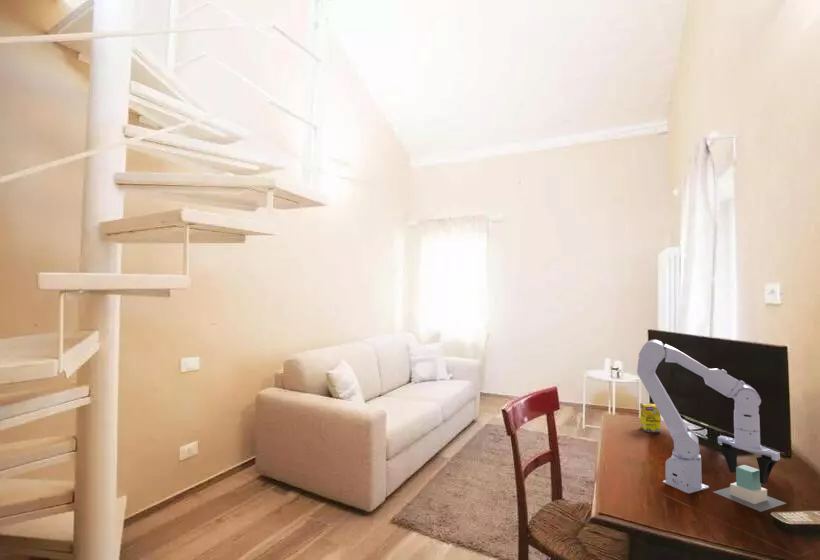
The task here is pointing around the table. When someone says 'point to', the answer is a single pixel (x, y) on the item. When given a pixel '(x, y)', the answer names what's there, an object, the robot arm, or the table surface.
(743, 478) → the teal block
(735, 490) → the cream slab
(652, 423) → the supplement box
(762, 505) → the grey flat square plate
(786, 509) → the table surface
